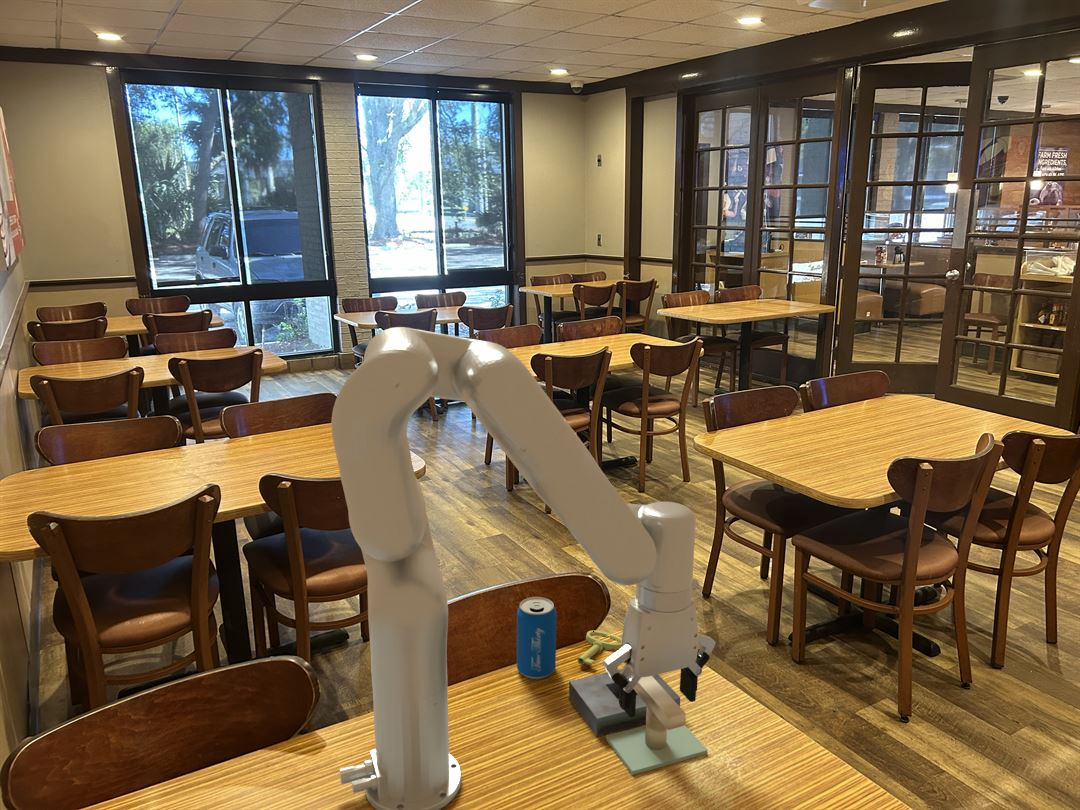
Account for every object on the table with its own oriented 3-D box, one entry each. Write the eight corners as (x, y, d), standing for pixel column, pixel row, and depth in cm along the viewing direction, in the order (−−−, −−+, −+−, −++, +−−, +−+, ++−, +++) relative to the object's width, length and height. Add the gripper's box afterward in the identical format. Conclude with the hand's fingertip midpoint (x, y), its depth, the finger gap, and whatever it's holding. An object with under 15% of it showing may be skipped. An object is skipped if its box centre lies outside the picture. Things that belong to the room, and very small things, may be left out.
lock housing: (596, 736, 112) (597, 718, 111) (568, 698, 121) (569, 681, 120) (679, 715, 117) (680, 697, 116) (646, 679, 126) (647, 663, 125)
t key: (629, 723, 114) (631, 676, 112) (647, 719, 115) (649, 672, 113) (664, 768, 105) (667, 717, 103) (683, 762, 106) (686, 712, 104)
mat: (632, 775, 104) (632, 771, 104) (605, 739, 111) (605, 735, 111) (707, 753, 108) (707, 749, 108) (677, 720, 116) (677, 716, 116)
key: (576, 670, 129) (576, 659, 129) (587, 633, 141) (588, 623, 140) (619, 676, 128) (619, 665, 127) (627, 638, 139) (627, 628, 139)
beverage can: (517, 681, 125) (517, 615, 122) (516, 660, 131) (516, 595, 129) (556, 681, 125) (557, 614, 123) (554, 659, 132) (555, 595, 129)
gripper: (702, 571, 111) (695, 677, 115) (594, 591, 105) (591, 702, 109) (733, 594, 104) (725, 705, 108) (619, 617, 98) (615, 734, 102)
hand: (658, 703), depth 108 cm, fingers open, 9 cm apart
